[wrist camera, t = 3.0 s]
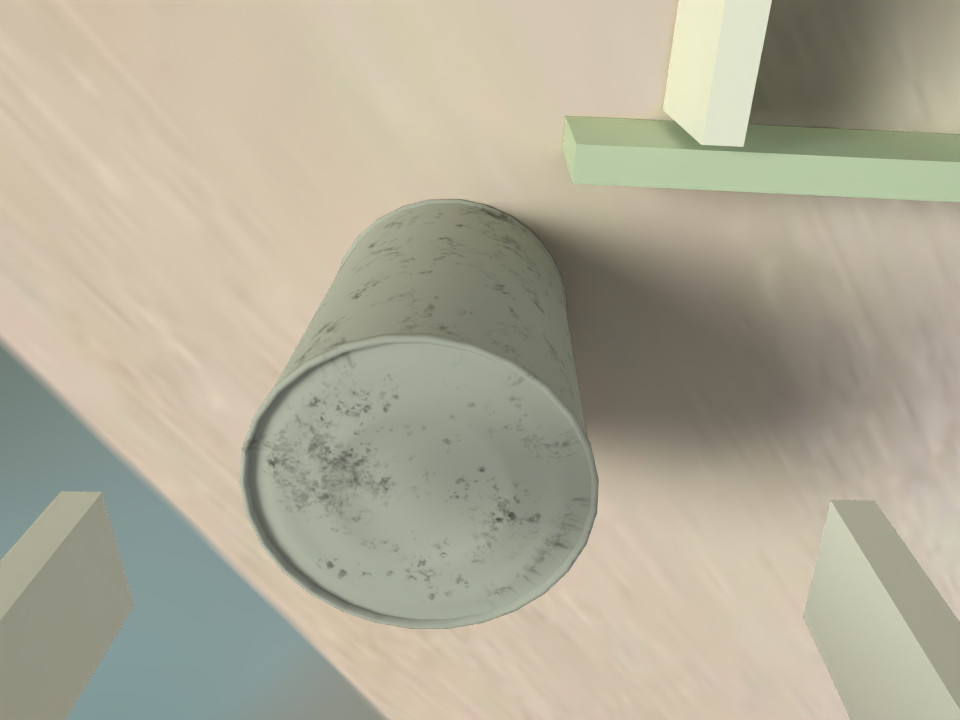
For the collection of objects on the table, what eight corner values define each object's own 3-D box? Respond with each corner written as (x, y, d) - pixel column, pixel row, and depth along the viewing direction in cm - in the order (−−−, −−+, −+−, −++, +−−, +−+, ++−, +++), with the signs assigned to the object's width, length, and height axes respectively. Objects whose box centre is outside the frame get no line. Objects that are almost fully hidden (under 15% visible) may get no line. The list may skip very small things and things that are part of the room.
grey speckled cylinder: (481, 149, 28) (465, 262, 17) (609, 344, 32) (664, 542, 21) (284, 281, 31) (163, 453, 20) (422, 448, 34) (383, 672, 23)
